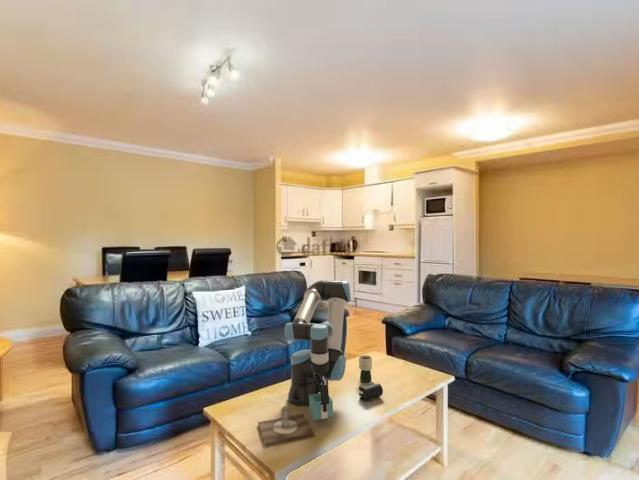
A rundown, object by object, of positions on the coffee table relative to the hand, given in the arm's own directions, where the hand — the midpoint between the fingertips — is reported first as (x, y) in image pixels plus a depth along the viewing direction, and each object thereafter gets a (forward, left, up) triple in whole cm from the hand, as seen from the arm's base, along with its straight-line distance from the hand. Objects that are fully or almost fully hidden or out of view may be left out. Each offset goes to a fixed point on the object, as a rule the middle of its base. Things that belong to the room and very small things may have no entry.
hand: (321, 412), depth 154 cm
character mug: (-32, +37, -4) cm, 49 cm away
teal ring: (0, 0, 0) cm, 0 cm away
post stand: (+1, -16, -4) cm, 17 cm away
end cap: (-12, +30, -4) cm, 32 cm away
